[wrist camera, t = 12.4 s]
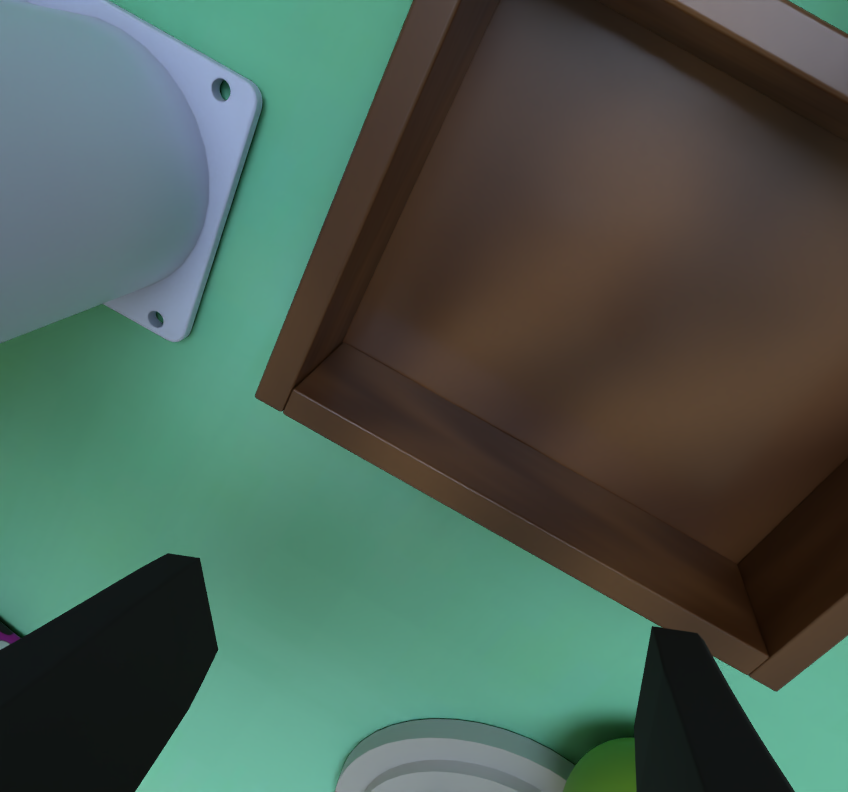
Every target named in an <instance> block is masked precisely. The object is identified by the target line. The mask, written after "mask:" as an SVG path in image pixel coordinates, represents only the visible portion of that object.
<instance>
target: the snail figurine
mask: <svg viewBox="0 0 848 792" xmlns="http://www.w3.org/2000/svg"><path fill="white" fill-rule="evenodd" d="M563 792H637V790H636V768H635V740H634V737H628V738H619V739H614V740H610V741H607V742H605V743H602V744H600V745H598V746H596V747H595V748H593V749H592V750H590V751H589V752H588V753H587V754H585V755H584V756H583V757H582V758H581V759H580V760H579V762H578V763H577V764H576V765H575V767H574V768H573V770H572V771H571V773H570V775H569V777H568V779H567V781H566V784H565V786H564V789H563Z"/></svg>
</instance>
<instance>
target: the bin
mask: <svg viewBox="0 0 848 792" xmlns="http://www.w3.org/2000/svg"><path fill="white" fill-rule="evenodd" d="M255 397H256V398H257V399H259V400H260V401H262V402H264V403H266V404H267V405H269V406H271V407H273V408H275V409H276V410H278V411H281V412H282V411H283V410H284V411H283V413H284V414H285V415H286V416H288V417H290V418H292V419H293V420H295V421H297V422H299V423H300V424H302V425H304V426H306V427H308V428H309V429H311V430H313V431H315V432H316V433H318V434H320V435H322V436H324V437H325V438H327V439H329V440H331V441H332V442H334V443H336V444H338V445H340V446H341V447H343V448H345V449H347V450H348V451H350V452H352V453H354V454H355V455H357V456H359V457H361V458H363V459H364V460H366V461H368V462H370V463H371V464H373V465H375V466H377V467H379V468H380V469H382V470H384V471H386V472H387V473H389V474H391V475H393V476H395V477H396V478H398V479H400V480H402V481H403V482H405V483H407V484H409V485H410V486H412V487H414V488H416V489H418V490H419V491H421V492H423V493H425V494H426V495H428V496H430V497H432V498H434V499H435V500H437V501H439V502H441V503H442V504H444V505H446V506H448V507H450V508H451V509H453V510H455V511H457V512H458V513H460V514H462V515H464V516H465V517H467V518H469V519H471V520H473V521H474V522H476V523H478V524H480V525H481V526H483V527H485V528H487V529H489V530H490V531H492V532H494V533H496V534H497V535H499V536H501V537H503V538H505V539H506V540H508V541H510V542H512V543H513V544H515V545H517V546H519V547H520V548H522V549H524V550H526V551H528V552H529V553H531V554H533V555H535V556H536V557H538V558H540V559H542V560H544V561H545V562H547V563H549V564H551V565H552V566H554V567H556V568H558V569H560V570H561V571H563V572H565V573H567V574H568V575H570V576H572V577H574V578H575V579H577V580H579V581H581V582H583V583H584V584H586V585H588V586H590V587H591V588H593V589H595V590H597V591H599V592H600V593H602V594H604V595H606V596H607V597H609V598H611V599H613V600H615V601H616V602H618V603H620V604H622V605H623V606H625V607H627V608H629V609H630V610H632V611H634V612H636V613H638V614H639V615H641V616H643V617H645V618H646V619H648V620H650V621H652V622H654V623H655V624H657V625H659V626H661V627H662V628H667V629H674V630H681V631H687V632H694V633H698V634H699V635H700V636H701V637H702V639H703V640H704V641H705V643H706V645H707V647H708V649H709V650H710V652H711V654H712V656H714V657H716V658H717V659H719V660H721V661H723V662H724V663H726V664H728V665H730V666H732V667H733V668H735V669H737V670H739V671H740V672H742V673H744V674H746V675H749V676H750V677H751V678H753V679H754V680H756V681H758V682H760V683H761V684H763V685H765V686H767V687H769V688H770V689H772V690H774V691H778V690H780V689H781V688H782V687H783V686H785V685H786V684H787V683H788V682H790V681H791V680H792V679H793V678H795V677H796V676H797V675H798V674H800V673H801V672H802V671H803V670H805V669H806V668H807V667H809V666H810V665H811V664H812V663H814V662H815V661H816V660H817V659H819V658H820V657H821V656H822V655H824V654H825V653H826V652H827V651H829V650H830V649H831V648H832V647H834V646H835V645H836V644H838V643H839V642H840V641H841V640H843V639H844V638H845V637H846V636H848V34H847V33H845V32H844V31H842V30H840V29H838V28H836V27H835V26H833V25H831V24H829V23H828V22H826V21H824V20H822V19H820V18H819V17H817V16H815V15H813V14H812V13H810V12H808V11H806V10H804V9H803V8H801V7H799V6H797V5H796V4H794V3H792V2H790V1H789V0H413V2H412V4H411V7H410V9H409V12H408V14H407V17H406V19H405V22H404V24H403V27H402V29H401V32H400V34H399V37H398V39H397V42H396V44H395V47H394V49H393V52H392V54H391V57H390V59H389V62H388V64H387V67H386V69H385V72H384V74H383V77H382V79H381V82H380V84H379V87H378V89H377V92H376V94H375V97H374V99H373V101H372V104H371V106H370V109H369V111H368V114H367V116H366V119H365V121H364V124H363V126H362V129H361V131H360V134H359V136H358V139H357V141H356V144H355V146H354V149H353V151H352V154H351V156H350V159H349V161H348V164H347V166H346V169H345V171H344V174H343V176H342V179H341V181H340V184H339V186H338V189H337V191H336V194H335V196H334V199H333V201H332V204H331V206H330V209H329V211H328V214H327V216H326V219H325V221H324V224H323V226H322V229H321V231H320V234H319V236H318V239H317V241H316V244H315V246H314V249H313V251H312V254H311V256H310V259H309V261H308V264H307V266H306V269H305V271H304V274H303V276H302V279H301V281H300V284H299V286H298V289H297V291H296V294H295V296H294V299H293V301H292V304H291V306H290V309H289V311H288V314H287V316H286V319H285V321H284V324H283V326H282V329H281V331H280V334H279V336H278V339H277V341H276V344H275V346H274V349H273V351H272V354H271V356H270V359H269V361H268V364H267V366H266V369H265V371H264V374H263V376H262V379H261V381H260V384H259V386H258V389H257V391H256V394H255Z"/></svg>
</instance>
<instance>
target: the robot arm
mask: <svg viewBox="0 0 848 792" xmlns="http://www.w3.org/2000/svg"><path fill="white" fill-rule="evenodd" d="M223 80H225V81H226V82H227V83H228V84H229V86H230V89H231V90H230V96H229V98H228V100H224V99H223V98H222V96H221V94H220V84H221V83H222V81H223ZM262 103H263V100H262V95H261V92H260V90H259V89H258V87H257V85H255V84H254V83H253V82H252V81H251V80H249V79H247V78H245V77H244V76H242V75H240V74H238V73H237V72H235V71H233V70H231V69H229V68H228V67H226V66H224V65H222V64H221V63H219V62H217V61H215V60H213V59H212V58H210V57H208V56H206V55H205V54H203V53H201V52H199V51H198V50H196V49H194V48H192V47H190V46H189V45H187V44H185V43H183V42H182V41H180V40H178V39H176V38H174V37H173V36H171V35H169V34H167V33H166V32H164V31H162V30H160V29H158V28H157V27H155V26H153V25H151V24H150V23H148V22H146V21H144V20H143V19H141V18H139V17H137V16H135V15H134V14H132V13H130V12H128V11H127V10H125V9H123V8H121V7H119V6H118V5H116V4H114V3H112V2H111V1H109V0H0V343H3V342H5V341H8V340H11V339H13V338H16V337H18V336H21V335H23V334H26V333H29V332H31V331H34V330H36V329H39V328H41V327H44V326H47V325H49V324H52V323H54V322H57V321H59V320H62V319H65V318H67V317H70V316H72V315H75V314H77V313H80V312H83V311H85V310H88V309H90V308H93V307H95V306H98V305H101V304H104V305H106V306H107V307H109V308H111V309H113V310H115V311H116V312H118V313H120V314H122V315H123V316H125V317H127V318H129V319H131V320H132V321H134V322H136V323H138V324H139V325H141V326H143V327H145V328H146V329H148V330H150V331H152V332H154V333H155V334H157V335H159V336H161V337H162V338H164V339H166V340H168V341H171V342H179V341H180V340H182V339H184V338H186V337H187V336H188V335H189V334H190V332H191V329H192V326H193V323H194V320H195V317H196V313H197V310H198V307H199V304H200V301H201V298H202V295H203V292H204V288H205V285H206V282H207V279H208V276H209V273H210V270H211V266H212V263H213V260H214V257H215V254H216V251H217V248H218V245H219V241H220V238H221V235H222V232H223V229H224V226H225V223H226V219H227V216H228V213H229V210H230V207H231V204H232V201H233V198H234V194H235V191H236V188H237V185H238V182H239V179H240V176H241V173H242V169H243V166H244V163H245V160H246V157H247V154H248V151H249V147H250V144H251V141H252V138H253V135H254V132H255V129H256V126H257V122H258V119H259V116H260V113H261V110H262ZM156 311H157V312H159V313H160V314H161V315H162V317H163V323H161V322H160V321H159V320H158V318H157V316H156ZM217 651H218V646H217V641H216V636H215V631H214V626H213V621H212V616H211V611H210V607H209V602H208V597H207V592H206V587H205V582H204V577H203V572H202V567H201V562H200V558H195V557H189V556H182V555H176V554H169V553H167V554H166V555H164V556H162V557H160V558H158V559H156V560H154V561H152V562H150V563H149V564H147V565H145V566H143V567H142V568H140V569H138V570H136V571H135V572H133V573H131V574H130V575H128V576H126V577H124V578H123V579H121V580H119V581H118V582H116V583H114V584H113V585H111V586H109V587H108V588H106V589H104V590H102V591H101V592H99V593H97V594H96V595H94V596H92V597H91V598H89V599H87V600H86V601H84V602H82V603H81V604H79V605H77V606H76V607H74V608H72V609H70V610H69V611H67V612H65V613H64V614H62V615H60V616H59V617H57V618H55V619H53V620H52V621H50V622H48V623H47V624H45V625H43V626H42V627H40V628H38V629H37V630H35V631H33V632H31V633H30V634H28V635H26V636H24V637H22V638H21V639H19V640H17V641H15V642H13V643H12V644H10V645H8V646H6V647H4V648H2V649H1V650H0V792H135V791H136V789H137V788H138V786H139V785H140V783H141V782H142V780H143V779H144V777H145V776H146V774H147V773H148V771H149V770H150V768H151V767H152V765H153V764H154V762H155V761H156V759H157V757H158V756H159V754H160V753H161V751H162V750H163V748H164V747H165V745H166V744H167V742H168V741H169V739H170V737H171V736H172V734H173V733H174V731H175V730H176V728H177V727H178V725H179V724H180V722H181V720H182V719H183V717H184V716H185V714H186V712H187V711H188V709H189V707H190V706H191V704H192V702H193V700H194V698H195V696H196V694H197V692H198V690H199V688H200V686H201V684H202V682H203V680H204V678H205V676H206V674H207V672H208V670H209V668H210V666H211V664H212V662H213V659H214V657H215V655H216V653H217ZM634 740H635V768H636V790H637V792H795V791H794V790H793V788H792V787H791V785H790V784H789V782H788V780H787V779H786V777H785V776H784V774H783V773H782V771H781V770H780V768H779V767H778V765H777V763H776V762H775V760H774V759H773V757H772V756H771V754H770V753H769V751H768V750H767V748H766V746H765V745H764V743H763V742H762V740H761V738H760V737H759V735H758V734H757V732H756V730H755V729H754V727H753V725H752V724H751V722H750V720H749V719H748V717H747V715H746V714H745V712H744V710H743V709H742V707H741V705H740V704H739V702H738V700H737V699H736V697H735V695H734V693H733V692H732V690H731V688H730V687H729V685H728V683H727V681H726V680H725V678H724V676H723V674H722V672H721V671H720V669H719V667H718V665H717V663H716V662H715V660H714V658H713V656H712V654H711V652H710V650H709V649H708V647H707V645H706V643H705V641H704V640H703V639H702V637H701V636H700V635H699V634H698V633H694V632H687V631H681V630H674V629H667V628H661V627H654V626H652V629H651V635H650V640H649V646H648V651H647V657H646V662H645V668H644V673H643V679H642V685H641V690H640V696H639V701H638V707H637V712H636V718H635V723H634Z"/></svg>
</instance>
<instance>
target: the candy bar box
mask: <svg viewBox="0 0 848 792" xmlns="http://www.w3.org/2000/svg"><path fill="white" fill-rule="evenodd" d="M19 639H21V638H20V637H19V636H17V635H16V634H15V633H14V632H12V631H11V630H10V629H9V628H7V627H6V626H5V625H4V624H3V623H1V622H0V650H1V649H2V648H4V647H6V646H8V645H10V644H12V643H13V642H15V641H17V640H19Z"/></svg>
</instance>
